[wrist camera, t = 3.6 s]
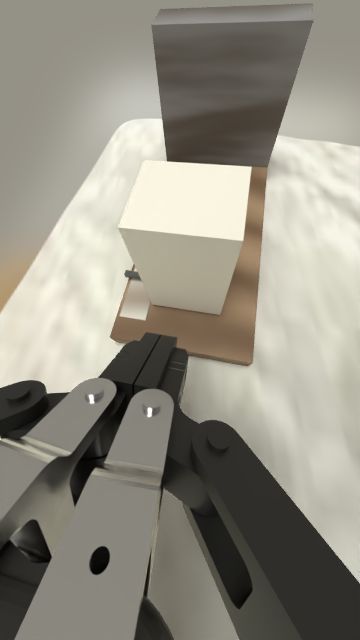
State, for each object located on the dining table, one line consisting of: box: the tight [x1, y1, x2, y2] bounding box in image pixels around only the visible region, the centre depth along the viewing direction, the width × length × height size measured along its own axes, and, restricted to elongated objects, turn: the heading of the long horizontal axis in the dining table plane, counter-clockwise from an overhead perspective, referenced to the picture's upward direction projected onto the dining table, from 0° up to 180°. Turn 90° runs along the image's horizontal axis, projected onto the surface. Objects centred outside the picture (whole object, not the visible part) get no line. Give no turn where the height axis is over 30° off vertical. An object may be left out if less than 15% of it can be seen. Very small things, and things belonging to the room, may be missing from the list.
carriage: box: [118, 160, 252, 315], centre depth 15 cm, size 7×9×9 cm
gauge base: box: [110, 4, 313, 366], centre depth 18 cm, size 28×12×12 cm, turn 169°
